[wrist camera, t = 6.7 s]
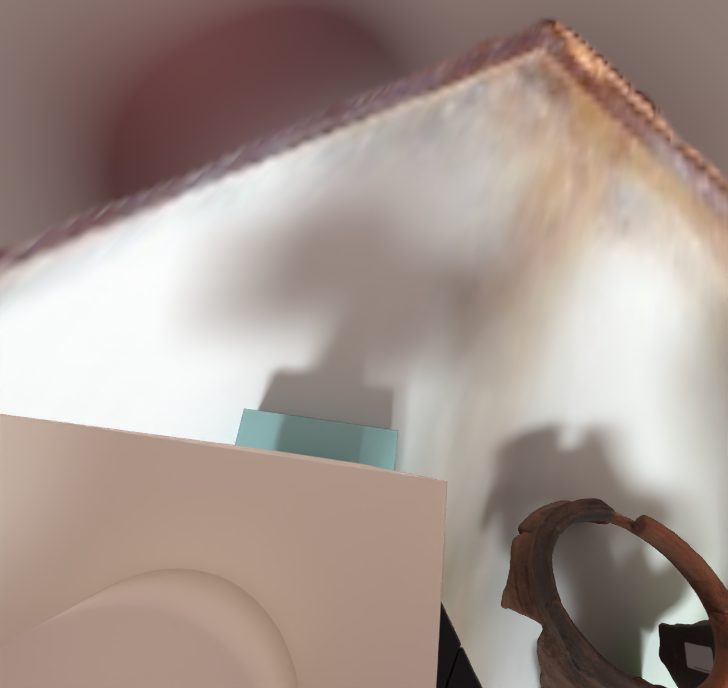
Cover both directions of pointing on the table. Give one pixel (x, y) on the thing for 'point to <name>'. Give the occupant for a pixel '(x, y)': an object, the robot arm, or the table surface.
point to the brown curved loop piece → (566, 643)
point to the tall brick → (211, 565)
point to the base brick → (318, 438)
